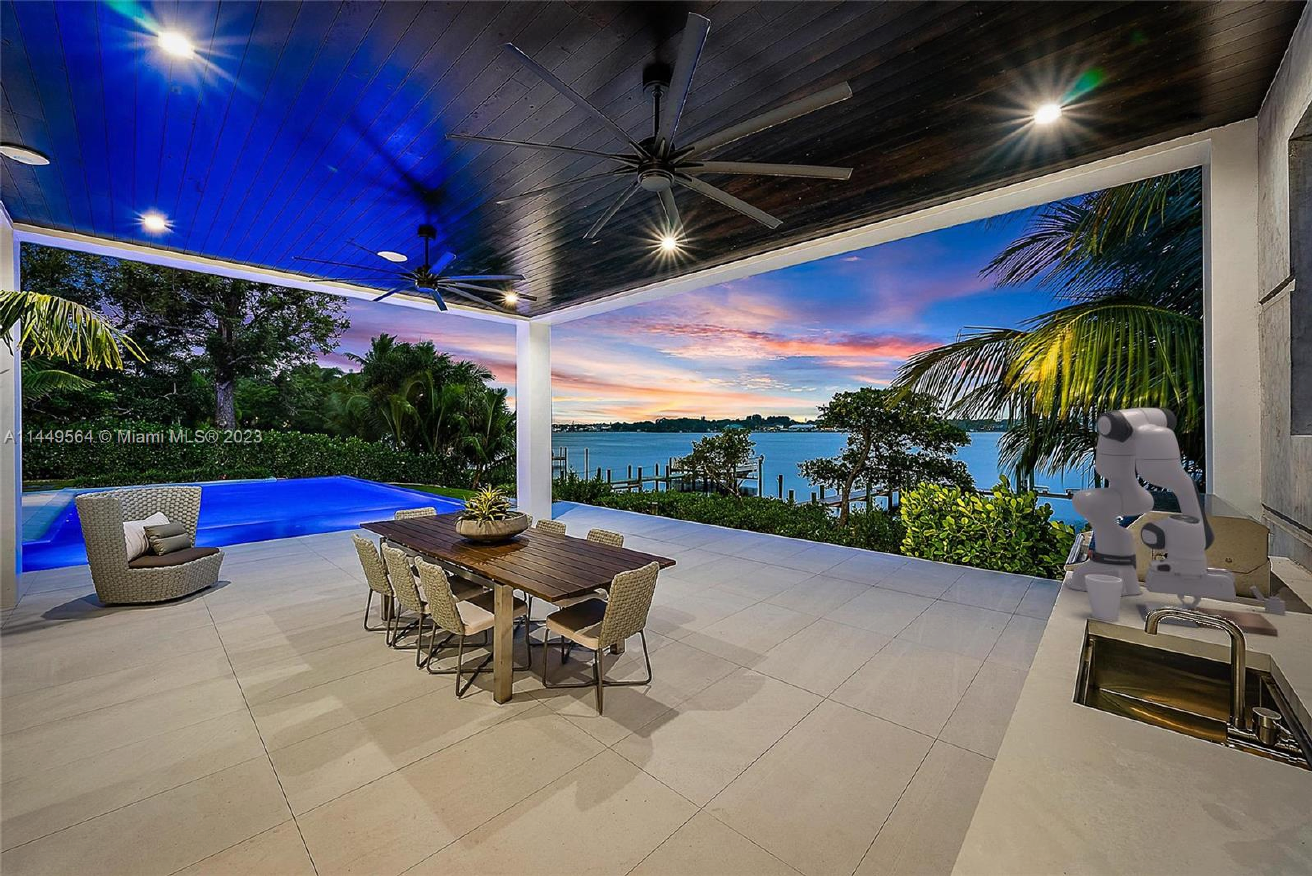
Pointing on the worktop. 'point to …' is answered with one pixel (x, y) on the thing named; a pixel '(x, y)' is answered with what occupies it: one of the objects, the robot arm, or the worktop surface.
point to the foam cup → (1104, 596)
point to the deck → (1242, 621)
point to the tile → (1153, 606)
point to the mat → (1167, 619)
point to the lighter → (1270, 603)
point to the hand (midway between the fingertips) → (1189, 609)
